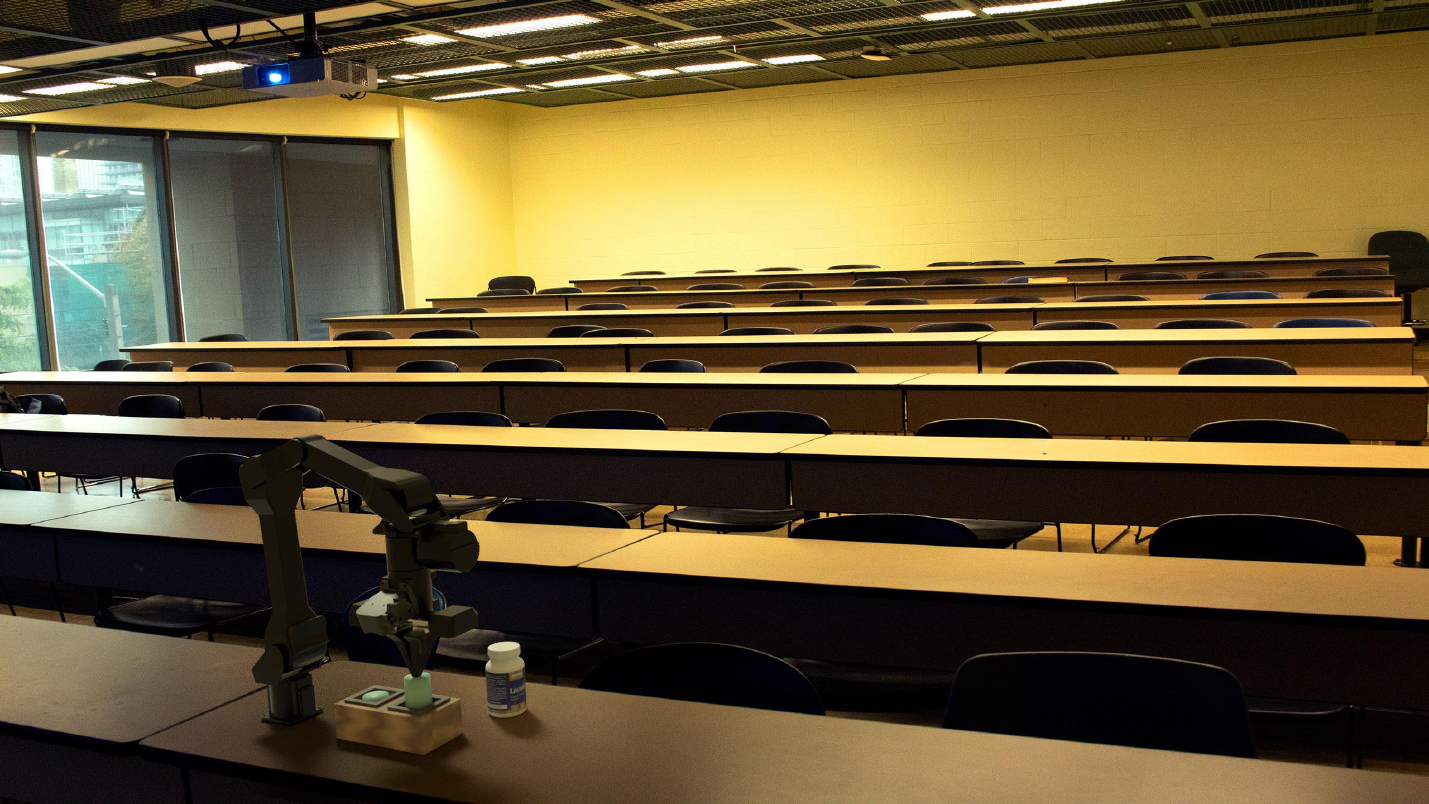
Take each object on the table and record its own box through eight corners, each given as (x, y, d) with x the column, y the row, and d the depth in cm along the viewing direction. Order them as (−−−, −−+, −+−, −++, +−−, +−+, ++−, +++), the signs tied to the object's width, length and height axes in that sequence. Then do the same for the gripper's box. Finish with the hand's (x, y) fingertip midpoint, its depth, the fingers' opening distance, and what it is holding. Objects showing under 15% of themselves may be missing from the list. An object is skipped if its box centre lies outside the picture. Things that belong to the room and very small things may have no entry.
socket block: (336, 738, 159) (333, 701, 159) (377, 717, 166) (374, 682, 166) (424, 755, 152) (421, 716, 151) (462, 733, 159) (460, 696, 159)
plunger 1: (359, 733, 160) (356, 698, 160) (377, 724, 163) (375, 689, 163) (378, 737, 159) (376, 701, 158) (396, 727, 162) (394, 692, 161)
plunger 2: (400, 715, 156) (398, 679, 156) (418, 706, 159) (415, 671, 159) (420, 719, 155) (418, 682, 154) (438, 709, 158) (435, 674, 157)
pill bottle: (518, 719, 163) (514, 652, 162) (481, 718, 164) (477, 651, 163) (532, 704, 169) (528, 640, 168) (497, 703, 170) (492, 639, 169)
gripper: (314, 575, 152) (323, 688, 154) (421, 587, 143) (430, 705, 145) (373, 556, 162) (381, 662, 163) (477, 566, 153) (484, 677, 155)
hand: (416, 676), depth 156 cm, fingers closed, pressing on plunger 2
